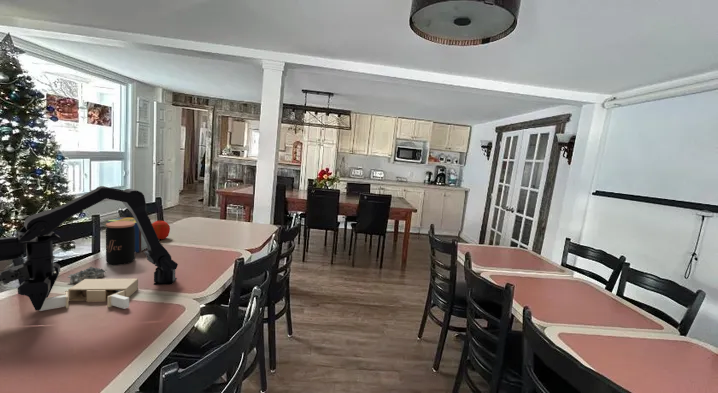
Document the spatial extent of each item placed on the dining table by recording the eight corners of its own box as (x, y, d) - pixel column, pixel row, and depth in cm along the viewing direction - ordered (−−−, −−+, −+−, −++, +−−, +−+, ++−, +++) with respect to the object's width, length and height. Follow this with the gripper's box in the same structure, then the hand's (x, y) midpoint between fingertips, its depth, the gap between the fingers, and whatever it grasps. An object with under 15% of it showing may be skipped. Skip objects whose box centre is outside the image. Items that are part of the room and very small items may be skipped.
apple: (145, 240, 180) (145, 220, 179) (158, 236, 190) (159, 217, 189) (160, 242, 178) (160, 222, 177) (173, 238, 188) (174, 219, 187)
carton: (137, 289, 119) (137, 278, 118) (124, 302, 109) (124, 289, 108) (85, 290, 115) (84, 278, 114) (66, 303, 105) (66, 290, 105)
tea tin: (129, 291, 116) (129, 283, 115) (124, 296, 112) (124, 287, 112) (118, 292, 115) (117, 283, 114) (112, 296, 111) (112, 287, 111)
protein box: (120, 245, 168) (120, 216, 166) (150, 246, 169) (151, 218, 167) (106, 251, 157) (106, 220, 156) (139, 252, 159) (139, 222, 157)
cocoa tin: (97, 292, 113) (97, 283, 113) (91, 296, 110) (91, 288, 109) (85, 292, 113) (85, 283, 112) (79, 297, 109) (79, 288, 109)
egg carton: (83, 287, 118) (83, 276, 118) (65, 284, 119) (64, 274, 118) (108, 276, 129) (108, 267, 128) (91, 274, 129) (91, 264, 129)
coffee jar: (100, 262, 142) (99, 223, 140) (125, 256, 152) (125, 220, 150) (115, 267, 138) (115, 227, 136) (140, 260, 148) (140, 223, 146)
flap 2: (125, 300, 110) (125, 289, 109) (139, 304, 108) (139, 293, 107) (107, 307, 104) (107, 296, 104) (122, 311, 102) (122, 300, 102)
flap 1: (68, 308, 102) (68, 296, 101) (39, 313, 97) (39, 302, 97) (68, 301, 106) (68, 290, 105) (40, 306, 101) (39, 295, 101)
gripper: (12, 249, 100) (14, 296, 102) (-11, 268, 85) (-8, 323, 87) (59, 246, 106) (61, 290, 108) (46, 263, 91) (48, 314, 93)
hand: (41, 303), depth 99 cm, fingers open, 9 cm apart
